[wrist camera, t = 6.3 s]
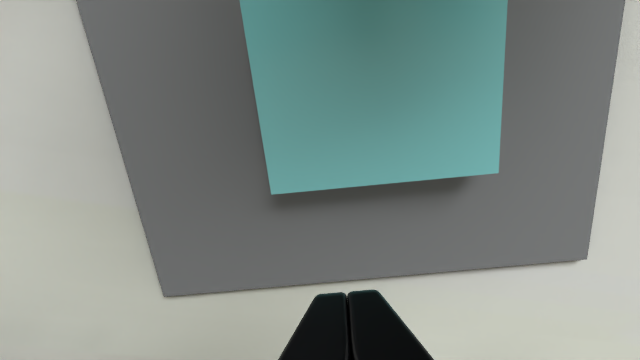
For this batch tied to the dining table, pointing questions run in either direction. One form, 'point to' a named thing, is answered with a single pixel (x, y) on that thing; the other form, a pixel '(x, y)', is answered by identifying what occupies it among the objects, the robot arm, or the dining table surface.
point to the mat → (352, 202)
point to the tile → (376, 89)
